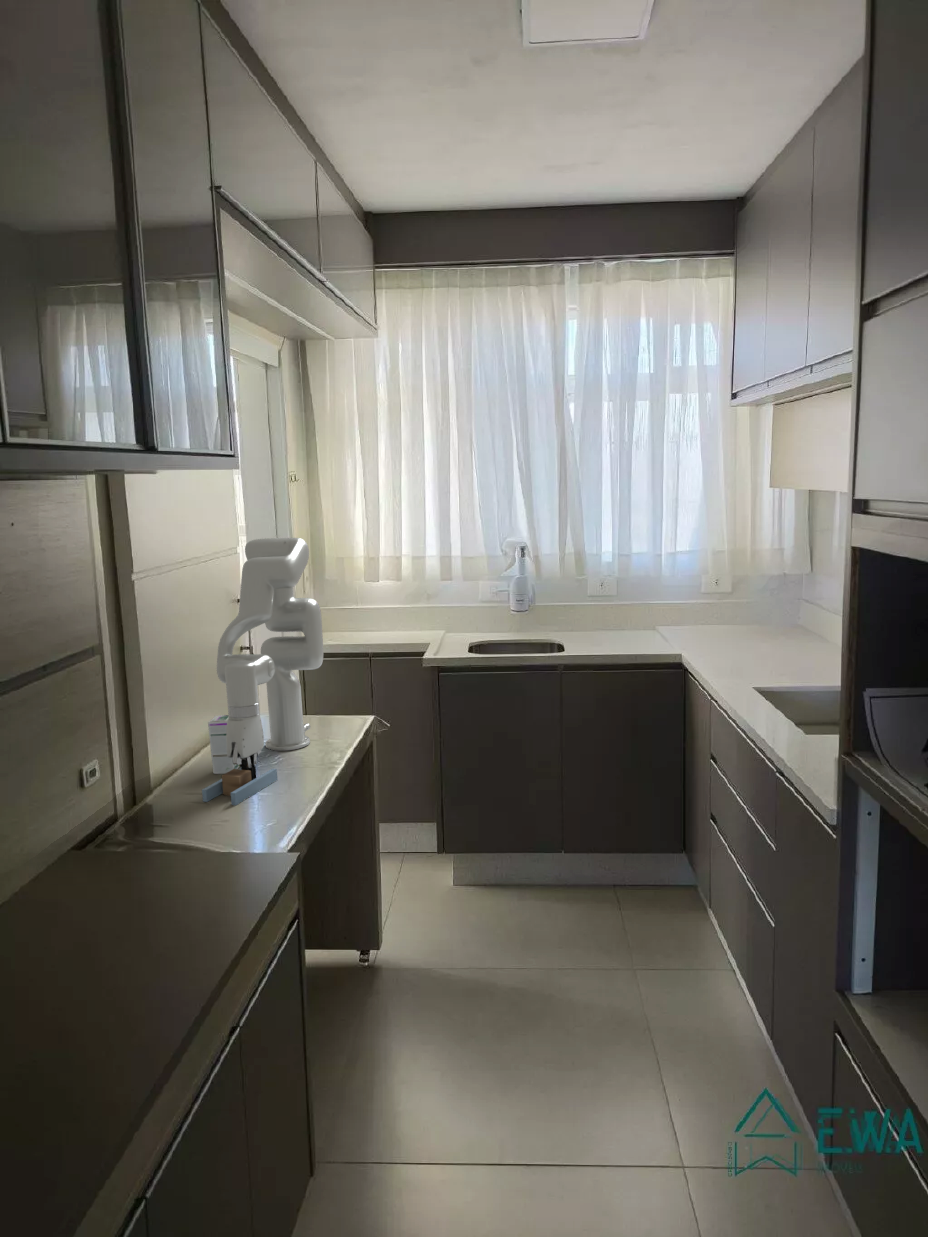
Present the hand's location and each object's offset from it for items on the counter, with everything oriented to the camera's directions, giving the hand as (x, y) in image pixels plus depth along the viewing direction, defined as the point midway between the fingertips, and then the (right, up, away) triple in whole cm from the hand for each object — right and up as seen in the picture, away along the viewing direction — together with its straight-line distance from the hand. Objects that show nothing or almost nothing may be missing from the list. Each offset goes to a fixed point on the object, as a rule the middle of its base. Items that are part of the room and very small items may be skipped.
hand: (249, 781), depth 226 cm
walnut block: (-2, -2, -4) cm, 5 cm away
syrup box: (-9, 0, +13) cm, 16 cm away
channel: (-1, -2, -3) cm, 4 cm away
